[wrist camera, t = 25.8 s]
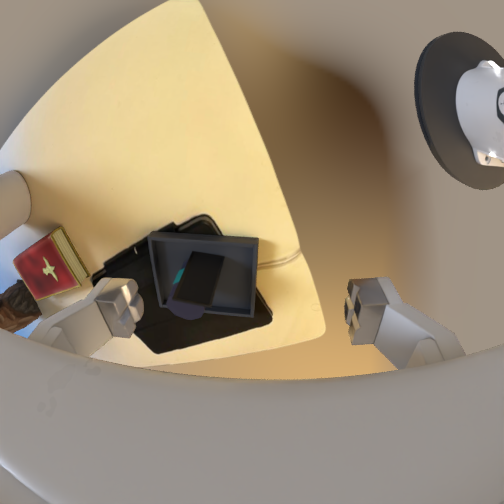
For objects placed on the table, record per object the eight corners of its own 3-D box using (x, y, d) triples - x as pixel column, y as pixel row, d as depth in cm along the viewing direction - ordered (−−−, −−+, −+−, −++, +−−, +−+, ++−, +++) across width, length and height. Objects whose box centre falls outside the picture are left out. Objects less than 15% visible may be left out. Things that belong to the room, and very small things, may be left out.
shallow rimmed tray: (258, 238, 41) (257, 244, 39) (254, 309, 48) (253, 317, 46) (152, 231, 42) (147, 236, 40) (163, 299, 49) (159, 306, 47)
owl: (17, 301, 57) (-18, 343, 40) (6, 268, 51) (-36, 310, 34) (42, 316, 58) (6, 363, 41) (31, 281, 52) (-13, 330, 34)
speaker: (192, 240, 41) (171, 286, 33) (226, 256, 42) (213, 304, 34) (177, 272, 45) (158, 317, 37) (208, 286, 47) (194, 333, 38)
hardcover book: (21, 252, 48) (10, 261, 44) (61, 224, 43) (49, 234, 39) (44, 292, 53) (35, 301, 49) (90, 275, 48) (80, 287, 44)
